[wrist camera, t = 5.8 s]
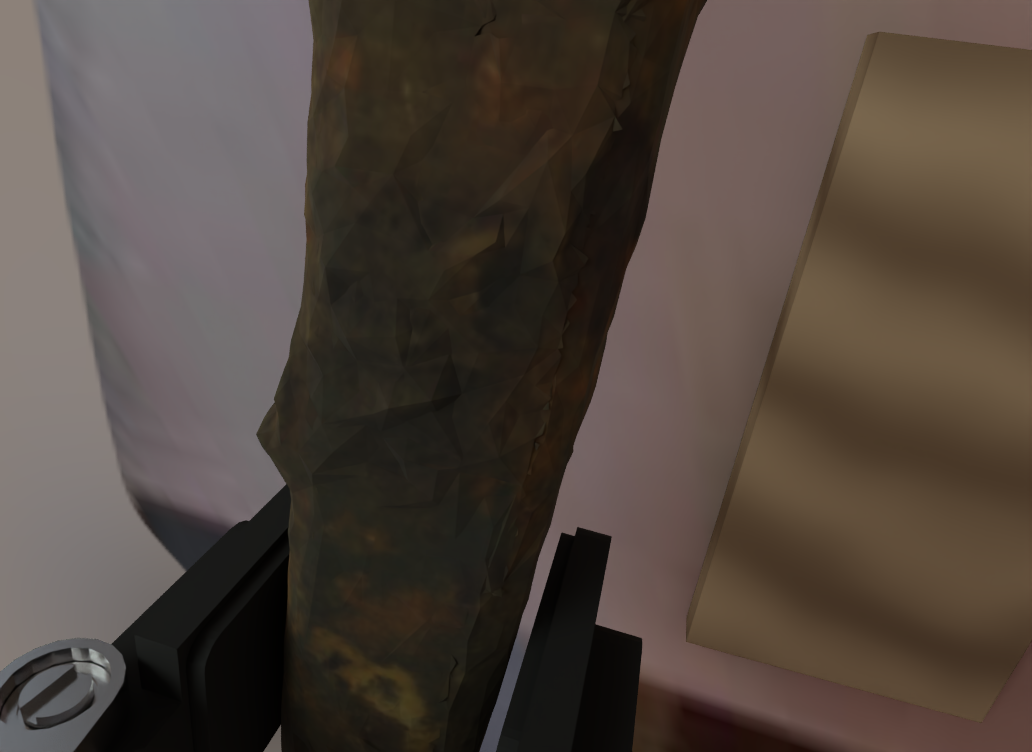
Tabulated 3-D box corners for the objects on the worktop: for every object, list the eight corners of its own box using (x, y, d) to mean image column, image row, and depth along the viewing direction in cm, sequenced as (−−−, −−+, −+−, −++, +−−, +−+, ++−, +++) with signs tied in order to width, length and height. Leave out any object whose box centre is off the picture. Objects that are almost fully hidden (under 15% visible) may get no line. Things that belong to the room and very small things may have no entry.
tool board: (867, 35, 21) (879, 31, 19) (1320, 90, 19) (1369, 90, 17) (686, 617, 31) (686, 641, 30) (967, 693, 29) (981, 722, 28)
